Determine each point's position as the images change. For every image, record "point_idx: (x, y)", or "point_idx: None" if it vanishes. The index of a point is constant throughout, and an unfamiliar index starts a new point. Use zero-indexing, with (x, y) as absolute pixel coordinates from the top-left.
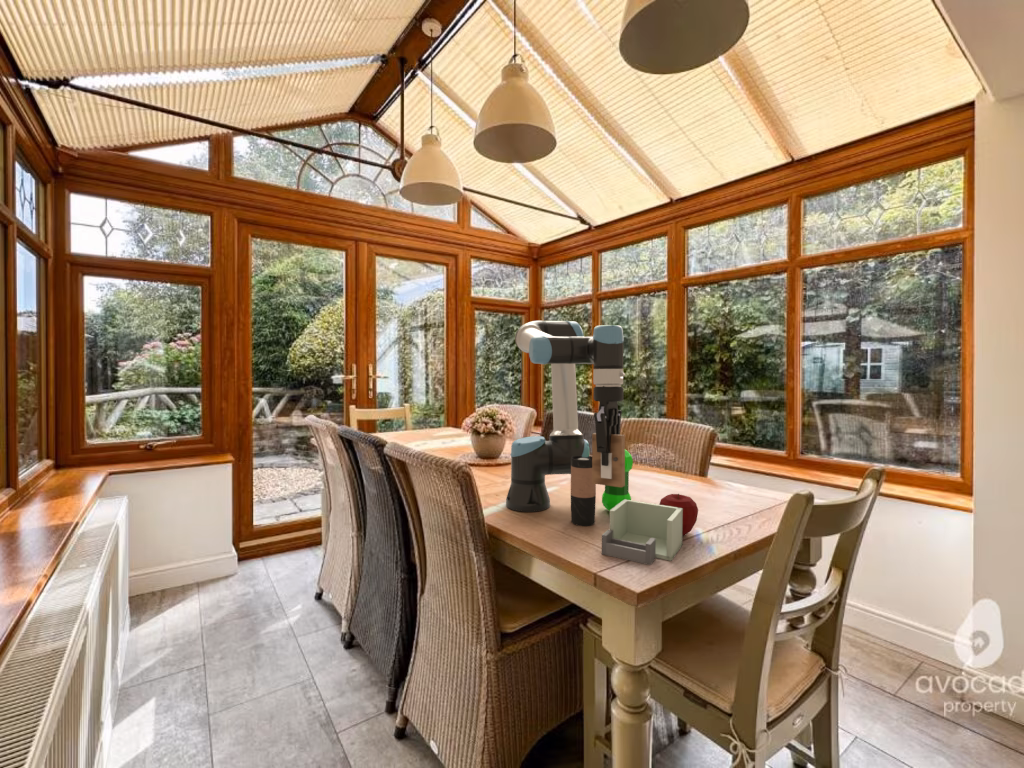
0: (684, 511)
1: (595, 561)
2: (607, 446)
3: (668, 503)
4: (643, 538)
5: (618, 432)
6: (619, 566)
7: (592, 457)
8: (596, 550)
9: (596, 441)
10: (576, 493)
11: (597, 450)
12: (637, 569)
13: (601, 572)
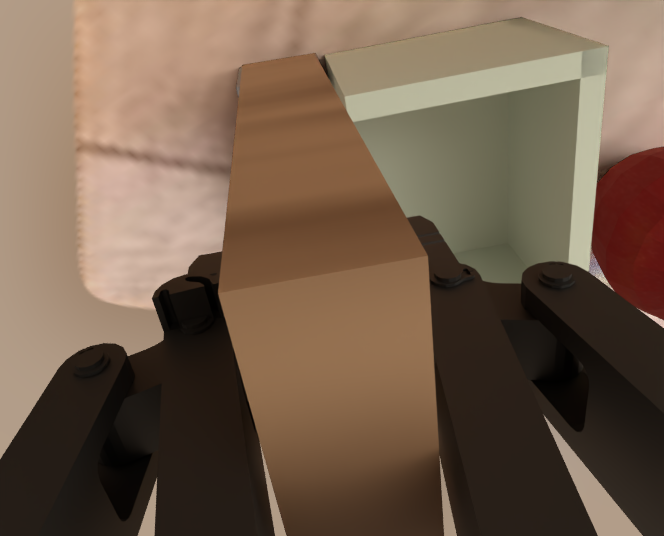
0: (625, 295)
1: (159, 88)
2: (155, 479)
3: (656, 242)
4: (474, 137)
5: (638, 526)
6: (193, 179)
7: (237, 129)
8: (258, 25)
9: (5, 456)
10: None
11: (76, 357)
12: (220, 233)
13: (98, 159)
